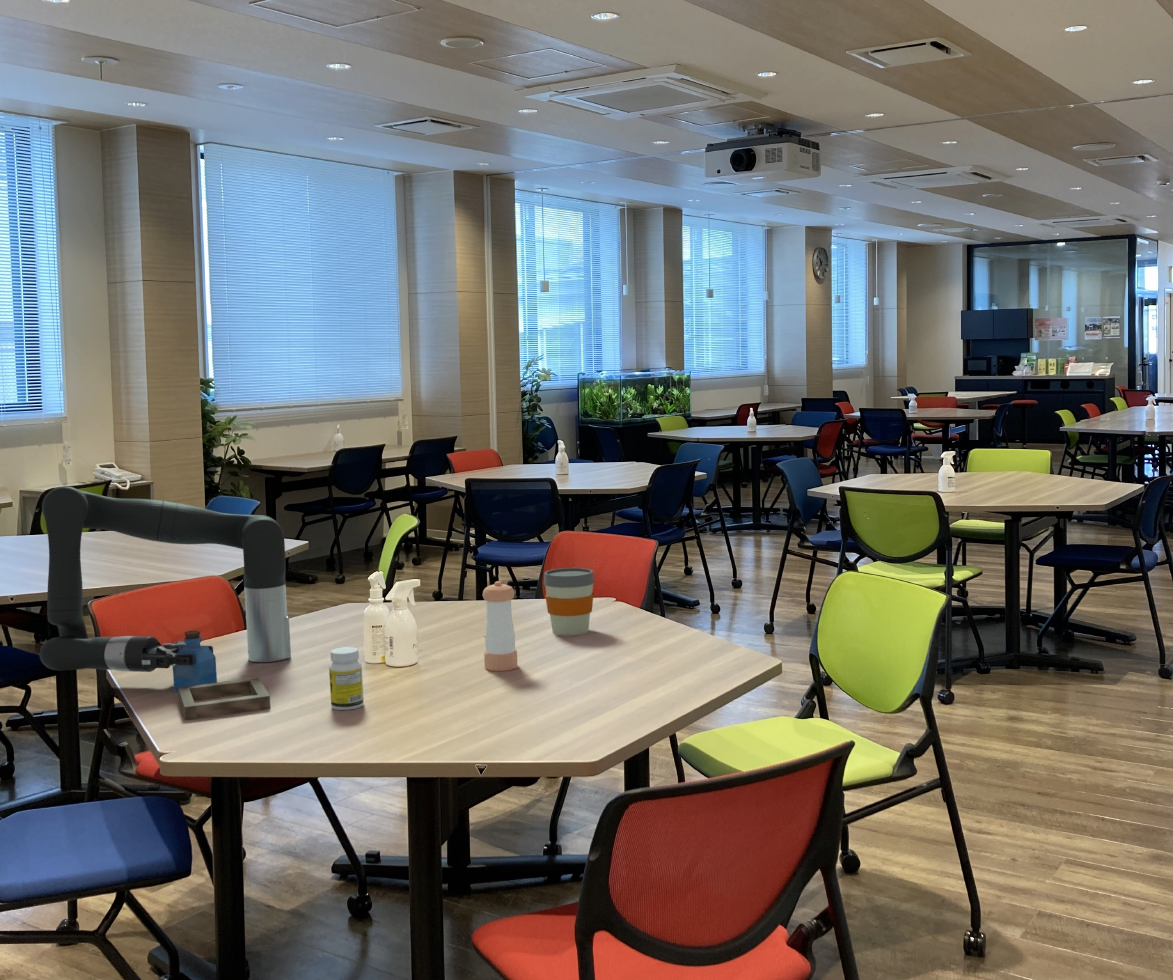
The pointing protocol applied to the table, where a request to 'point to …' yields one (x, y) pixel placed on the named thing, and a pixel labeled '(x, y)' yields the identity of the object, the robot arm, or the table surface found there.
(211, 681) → the perfume bottle
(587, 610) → the reusable coffee cup
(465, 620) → the table surface
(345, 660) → the supplement bottle
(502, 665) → the pepper shaker
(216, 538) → the robot arm
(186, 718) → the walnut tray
